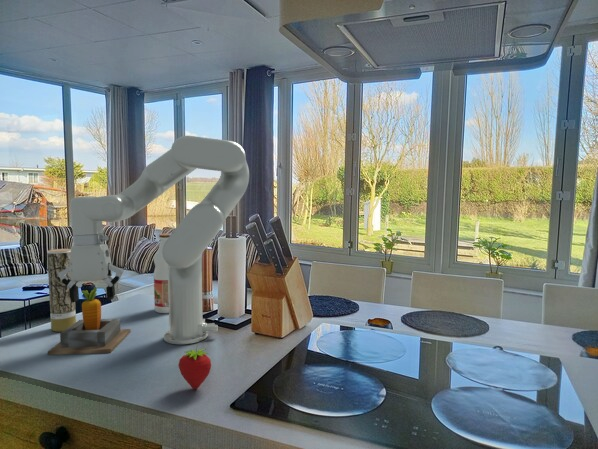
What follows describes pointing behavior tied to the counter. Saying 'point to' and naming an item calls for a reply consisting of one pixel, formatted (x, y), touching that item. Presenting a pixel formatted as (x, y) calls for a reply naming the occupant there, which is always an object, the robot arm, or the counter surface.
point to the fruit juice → (161, 278)
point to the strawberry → (195, 367)
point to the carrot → (91, 310)
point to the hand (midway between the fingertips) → (93, 300)
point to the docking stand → (90, 338)
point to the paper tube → (60, 291)
